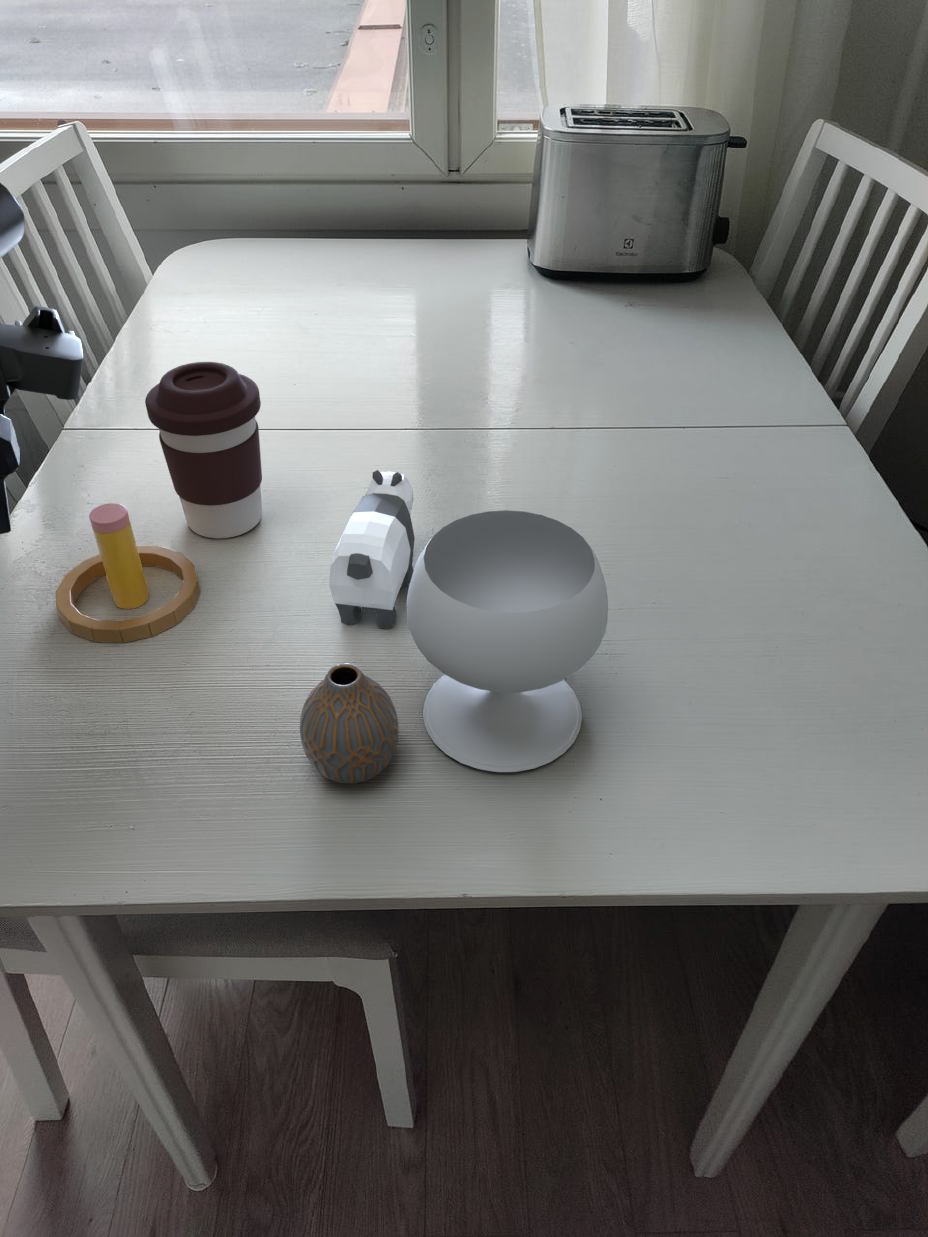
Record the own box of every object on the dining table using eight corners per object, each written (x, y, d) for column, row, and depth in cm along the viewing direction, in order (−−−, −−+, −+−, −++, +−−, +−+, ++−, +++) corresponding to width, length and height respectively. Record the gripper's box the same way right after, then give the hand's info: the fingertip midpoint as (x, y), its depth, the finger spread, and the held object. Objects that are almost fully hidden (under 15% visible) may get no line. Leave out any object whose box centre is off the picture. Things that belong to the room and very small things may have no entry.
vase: (355, 815, 66) (346, 727, 60) (285, 768, 69) (270, 681, 64) (419, 755, 70) (416, 668, 65) (350, 714, 74) (341, 627, 68)
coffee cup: (266, 550, 90) (243, 404, 80) (161, 547, 90) (126, 402, 80) (284, 492, 97) (265, 353, 88) (187, 490, 98) (158, 351, 88)
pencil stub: (134, 613, 83) (110, 526, 77) (107, 603, 84) (81, 517, 78) (156, 593, 85) (134, 508, 79) (129, 584, 86) (106, 499, 80)
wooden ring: (140, 658, 78) (136, 645, 77) (30, 619, 82) (25, 605, 81) (226, 578, 86) (223, 565, 86) (122, 546, 90) (118, 533, 89)
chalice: (546, 637, 80) (558, 485, 71) (626, 755, 71) (653, 596, 61) (387, 678, 77) (377, 523, 67) (448, 808, 67) (447, 648, 57)
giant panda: (394, 639, 80) (388, 546, 74) (330, 631, 81) (319, 539, 75) (429, 539, 91) (427, 451, 85) (373, 533, 92) (367, 446, 86)
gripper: (65, 342, 60) (121, 546, 70) (54, 245, 73) (102, 428, 83) (-132, 368, 57) (-44, 577, 67) (-106, 262, 70) (-36, 449, 80)
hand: (3, 500), depth 74 cm, fingers open, 9 cm apart
